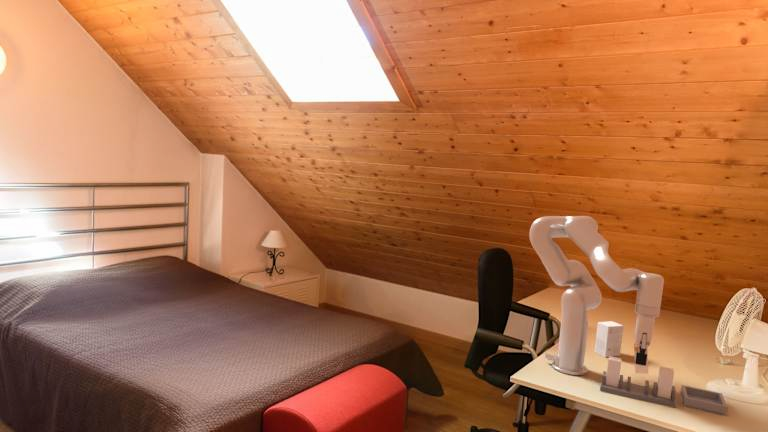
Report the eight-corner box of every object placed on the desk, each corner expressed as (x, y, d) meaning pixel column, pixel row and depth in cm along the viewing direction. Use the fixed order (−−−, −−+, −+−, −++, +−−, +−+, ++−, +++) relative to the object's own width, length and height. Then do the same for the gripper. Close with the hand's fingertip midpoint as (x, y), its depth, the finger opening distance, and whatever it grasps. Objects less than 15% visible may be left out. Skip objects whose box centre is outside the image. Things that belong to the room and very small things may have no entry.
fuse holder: (599, 390, 185) (603, 361, 184) (601, 380, 194) (604, 352, 193) (675, 407, 176) (679, 376, 175) (673, 396, 185) (677, 367, 184)
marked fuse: (635, 372, 183) (634, 346, 183) (635, 369, 187) (634, 343, 186) (648, 373, 181) (647, 347, 181) (648, 370, 185) (646, 343, 185)
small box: (608, 350, 228) (612, 320, 227) (620, 356, 223) (624, 325, 221) (593, 352, 225) (597, 321, 224) (605, 357, 219) (609, 326, 218)
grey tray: (683, 406, 177) (684, 397, 177) (680, 393, 188) (681, 384, 188) (726, 415, 173) (727, 406, 172) (720, 401, 183) (721, 393, 183)
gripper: (635, 302, 191) (628, 352, 193) (635, 313, 176) (628, 367, 178) (658, 306, 188) (651, 357, 190) (660, 317, 173) (653, 373, 175)
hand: (640, 361), depth 184 cm, fingers closed on marked fuse, 4 cm apart
